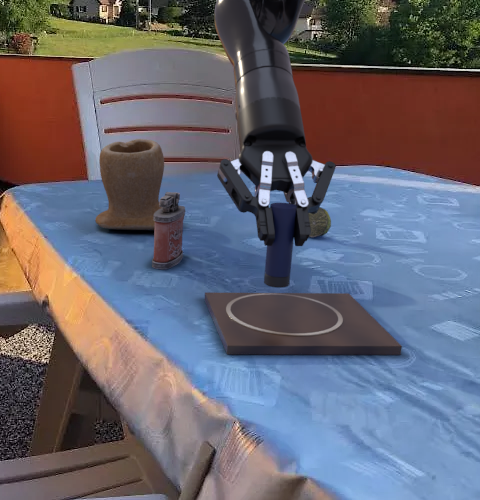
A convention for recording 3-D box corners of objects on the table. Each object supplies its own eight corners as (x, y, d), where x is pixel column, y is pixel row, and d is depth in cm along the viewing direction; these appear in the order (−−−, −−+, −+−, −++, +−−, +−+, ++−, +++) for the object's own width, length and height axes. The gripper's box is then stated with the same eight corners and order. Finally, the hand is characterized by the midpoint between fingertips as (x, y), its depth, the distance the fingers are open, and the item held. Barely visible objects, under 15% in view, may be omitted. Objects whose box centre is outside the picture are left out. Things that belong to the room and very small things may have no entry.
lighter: (165, 252, 106) (168, 187, 104) (187, 255, 105) (190, 189, 102) (147, 267, 99) (149, 197, 96) (169, 270, 98) (172, 199, 95)
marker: (285, 279, 81) (292, 202, 78) (292, 288, 78) (299, 208, 76) (261, 279, 81) (267, 202, 78) (267, 287, 78) (273, 208, 75)
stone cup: (91, 237, 114) (91, 143, 110) (99, 219, 125) (100, 134, 121) (185, 240, 113) (189, 147, 109) (184, 223, 125) (188, 137, 120)
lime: (330, 240, 115) (333, 211, 114) (300, 238, 116) (302, 208, 115) (328, 234, 120) (331, 205, 118) (299, 232, 120) (302, 203, 119)
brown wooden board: (348, 300, 88) (349, 292, 88) (400, 355, 73) (402, 344, 72) (204, 299, 87) (204, 291, 87) (226, 354, 72) (227, 344, 71)
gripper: (214, 93, 80) (226, 223, 72) (335, 96, 81) (361, 225, 73) (205, 134, 87) (215, 258, 79) (317, 136, 88) (339, 259, 80)
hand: (285, 241), depth 76 cm, fingers closed on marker, 2 cm apart
